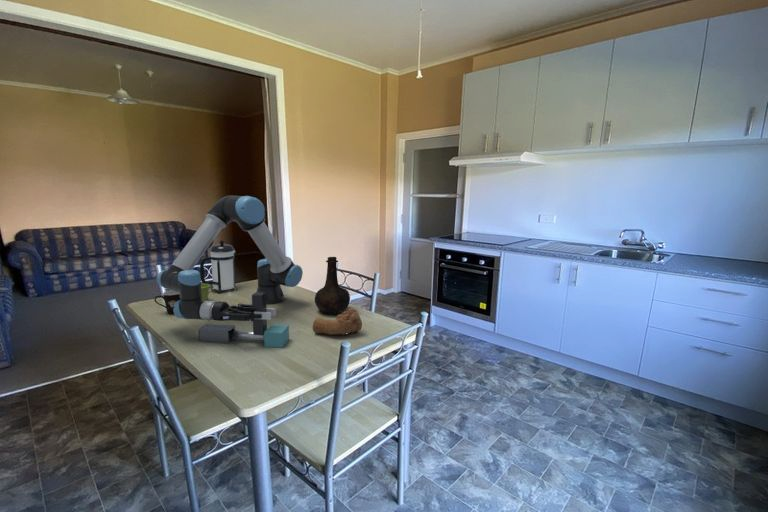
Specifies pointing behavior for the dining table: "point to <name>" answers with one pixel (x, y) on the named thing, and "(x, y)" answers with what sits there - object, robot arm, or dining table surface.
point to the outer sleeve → (215, 333)
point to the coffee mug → (169, 300)
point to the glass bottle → (332, 292)
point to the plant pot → (204, 291)
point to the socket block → (276, 335)
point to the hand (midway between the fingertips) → (272, 314)
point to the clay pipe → (339, 323)
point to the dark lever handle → (254, 320)
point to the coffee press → (220, 267)
